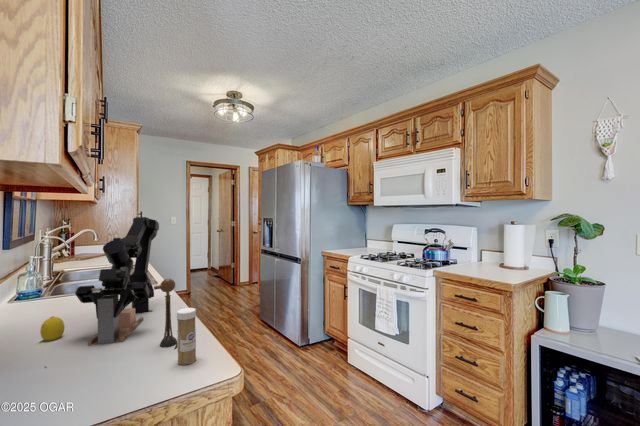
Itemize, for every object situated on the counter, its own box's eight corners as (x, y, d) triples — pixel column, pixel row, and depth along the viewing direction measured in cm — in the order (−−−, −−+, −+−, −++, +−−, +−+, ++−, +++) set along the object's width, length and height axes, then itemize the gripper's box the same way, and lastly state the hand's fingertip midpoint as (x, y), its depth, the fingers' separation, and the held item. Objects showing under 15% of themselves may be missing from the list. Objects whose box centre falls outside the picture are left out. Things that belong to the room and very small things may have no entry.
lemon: (37, 344, 92) (36, 317, 92) (59, 337, 97) (59, 312, 97) (45, 347, 89) (45, 320, 89) (68, 340, 94) (67, 314, 94)
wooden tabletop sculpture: (156, 354, 84) (155, 281, 84) (153, 348, 87) (152, 279, 87) (179, 348, 87) (178, 278, 87) (176, 343, 91) (175, 276, 91)
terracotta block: (119, 323, 105) (118, 309, 105) (135, 322, 106) (135, 308, 106) (113, 329, 100) (113, 313, 100) (130, 327, 101) (130, 312, 101)
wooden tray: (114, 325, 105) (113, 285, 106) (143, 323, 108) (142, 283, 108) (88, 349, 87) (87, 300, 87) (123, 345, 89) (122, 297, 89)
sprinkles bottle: (187, 366, 76) (186, 313, 77) (173, 363, 78) (172, 311, 78) (200, 358, 81) (199, 308, 81) (187, 356, 82) (186, 306, 82)
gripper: (77, 259, 92) (57, 306, 81) (146, 256, 97) (135, 300, 86) (90, 280, 99) (73, 326, 89) (153, 276, 104) (144, 319, 93)
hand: (106, 317), depth 89 cm, fingers closed on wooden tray, 4 cm apart
